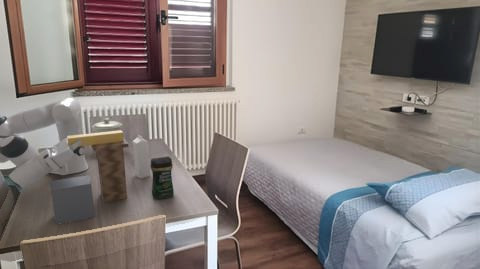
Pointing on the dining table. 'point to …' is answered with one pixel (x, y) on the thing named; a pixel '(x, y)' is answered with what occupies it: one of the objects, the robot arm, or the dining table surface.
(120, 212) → the dining table surface
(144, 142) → the milk
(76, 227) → the dining table surface
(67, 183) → the podium
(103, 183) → the walnut stand
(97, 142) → the yellow bar
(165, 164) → the coffee jar
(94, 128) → the canister
